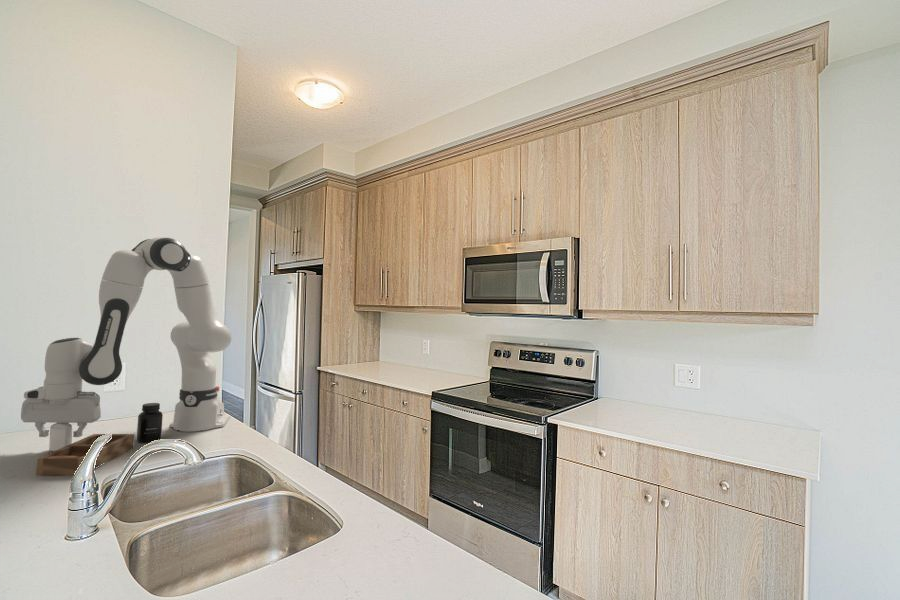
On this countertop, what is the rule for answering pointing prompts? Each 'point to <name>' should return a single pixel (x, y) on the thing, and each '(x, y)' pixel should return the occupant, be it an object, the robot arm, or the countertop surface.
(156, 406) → the supplement bottle
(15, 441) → the countertop surface
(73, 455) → the wooden divided tray
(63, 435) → the eye dropper bottle
